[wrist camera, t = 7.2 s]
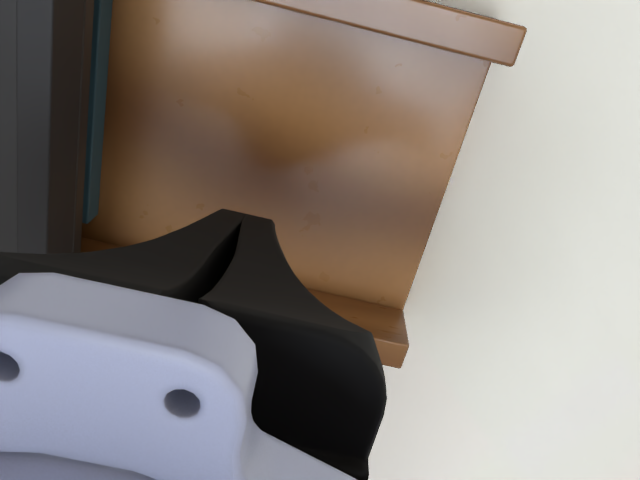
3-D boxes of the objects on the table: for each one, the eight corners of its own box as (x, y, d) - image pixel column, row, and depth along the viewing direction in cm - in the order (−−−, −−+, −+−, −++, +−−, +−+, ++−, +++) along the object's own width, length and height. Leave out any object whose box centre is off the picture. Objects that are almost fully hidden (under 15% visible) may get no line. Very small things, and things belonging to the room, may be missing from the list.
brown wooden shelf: (394, 319, 21) (400, 369, 19) (-197, 186, 20) (-283, 219, 17) (499, 19, 17) (528, 27, 14) (-263, -180, 15) (-394, -215, 13)
